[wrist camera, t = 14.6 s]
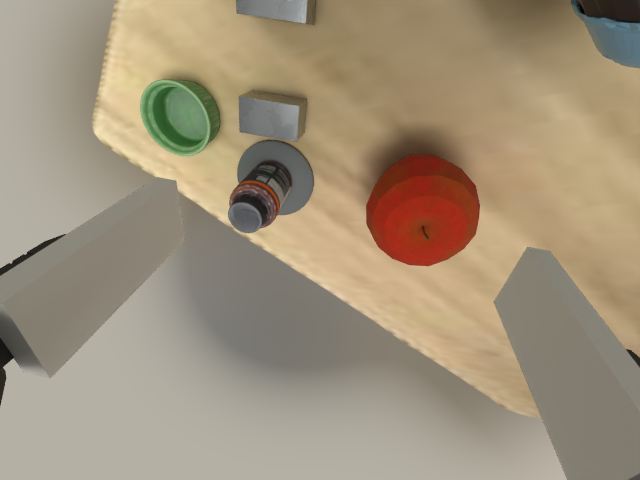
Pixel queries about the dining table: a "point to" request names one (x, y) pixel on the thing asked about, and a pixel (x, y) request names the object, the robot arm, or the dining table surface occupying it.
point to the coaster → (290, 161)
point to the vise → (266, 108)
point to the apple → (423, 210)
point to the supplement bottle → (259, 197)
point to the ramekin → (179, 116)
